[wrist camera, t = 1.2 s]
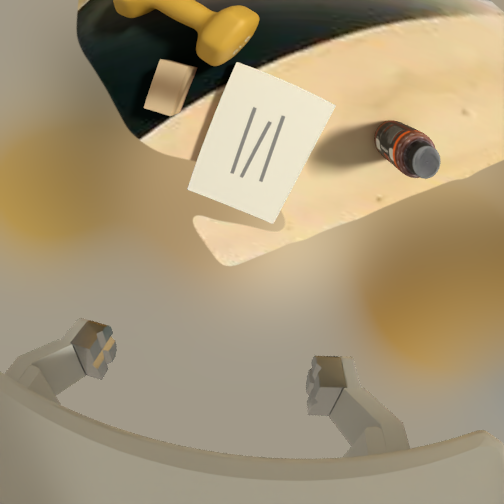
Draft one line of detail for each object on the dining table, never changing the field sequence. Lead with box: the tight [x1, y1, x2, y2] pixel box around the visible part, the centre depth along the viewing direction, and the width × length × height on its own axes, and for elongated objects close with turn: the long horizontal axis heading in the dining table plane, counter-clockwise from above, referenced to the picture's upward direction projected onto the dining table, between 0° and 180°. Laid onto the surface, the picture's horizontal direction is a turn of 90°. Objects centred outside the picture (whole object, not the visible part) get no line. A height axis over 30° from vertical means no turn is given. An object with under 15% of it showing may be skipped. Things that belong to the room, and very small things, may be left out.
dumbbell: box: [113, 0, 259, 66], centre depth 24 cm, size 19×9×8 cm, turn 51°
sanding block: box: [144, 59, 197, 116], centre depth 32 cm, size 7×4×4 cm, turn 157°
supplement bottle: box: [375, 121, 440, 178], centre depth 31 cm, size 6×6×11 cm
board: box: [187, 62, 336, 224], centre depth 37 cm, size 20×14×2 cm
